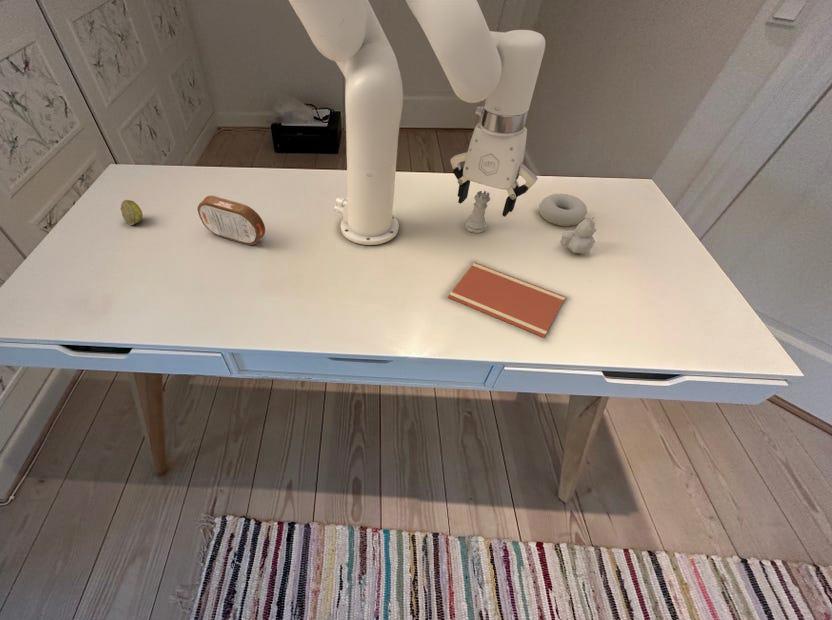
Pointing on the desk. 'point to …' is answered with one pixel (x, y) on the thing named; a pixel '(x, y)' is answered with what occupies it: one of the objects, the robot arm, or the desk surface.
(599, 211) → the desk surface
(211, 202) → the tin
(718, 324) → the desk surface
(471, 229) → the rook chess piece
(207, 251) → the desk surface
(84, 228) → the desk surface
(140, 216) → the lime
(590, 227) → the grey lumpy figurine
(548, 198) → the donut
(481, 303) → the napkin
